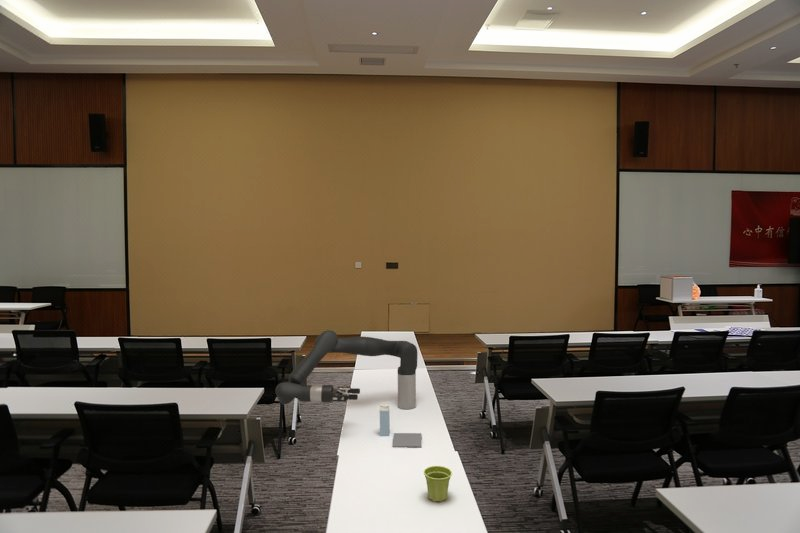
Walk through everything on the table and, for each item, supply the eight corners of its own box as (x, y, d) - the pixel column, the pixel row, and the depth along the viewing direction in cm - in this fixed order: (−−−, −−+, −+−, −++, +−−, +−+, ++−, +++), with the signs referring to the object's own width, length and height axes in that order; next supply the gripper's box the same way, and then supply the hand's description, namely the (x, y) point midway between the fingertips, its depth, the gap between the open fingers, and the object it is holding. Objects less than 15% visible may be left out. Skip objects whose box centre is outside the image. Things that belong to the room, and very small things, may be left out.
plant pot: (450, 490, 175) (450, 465, 175) (453, 504, 166) (453, 478, 165) (422, 490, 175) (422, 466, 174) (425, 505, 165) (424, 479, 165)
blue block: (380, 432, 227) (380, 406, 226) (389, 432, 227) (389, 406, 226) (379, 436, 223) (379, 409, 222) (389, 436, 223) (388, 409, 222)
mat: (393, 434, 225) (393, 433, 225) (421, 434, 224) (421, 433, 224) (392, 447, 211) (392, 446, 211) (421, 447, 210) (421, 446, 210)
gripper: (318, 389, 217) (356, 390, 217) (324, 380, 232) (360, 381, 231) (318, 407, 218) (356, 407, 217) (324, 397, 232) (360, 397, 231)
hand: (358, 394), depth 224 cm, fingers open, 8 cm apart
